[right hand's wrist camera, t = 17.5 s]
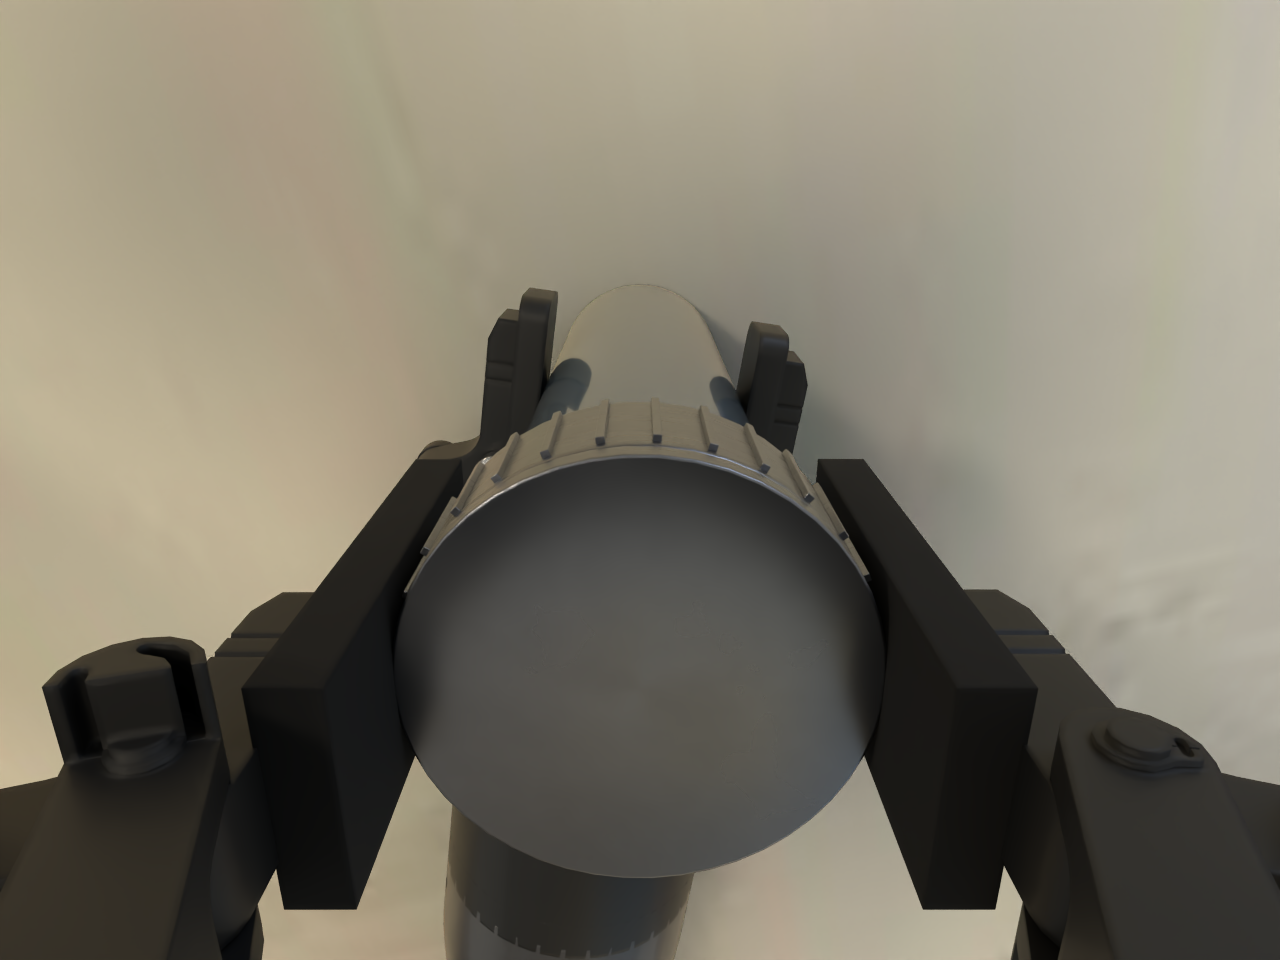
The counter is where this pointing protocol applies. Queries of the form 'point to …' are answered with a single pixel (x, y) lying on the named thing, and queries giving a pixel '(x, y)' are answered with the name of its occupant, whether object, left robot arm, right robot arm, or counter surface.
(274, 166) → the counter surface
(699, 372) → the jar
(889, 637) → the right robot arm
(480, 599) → the lid
